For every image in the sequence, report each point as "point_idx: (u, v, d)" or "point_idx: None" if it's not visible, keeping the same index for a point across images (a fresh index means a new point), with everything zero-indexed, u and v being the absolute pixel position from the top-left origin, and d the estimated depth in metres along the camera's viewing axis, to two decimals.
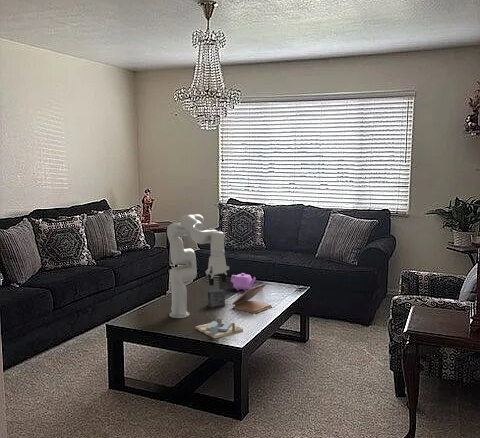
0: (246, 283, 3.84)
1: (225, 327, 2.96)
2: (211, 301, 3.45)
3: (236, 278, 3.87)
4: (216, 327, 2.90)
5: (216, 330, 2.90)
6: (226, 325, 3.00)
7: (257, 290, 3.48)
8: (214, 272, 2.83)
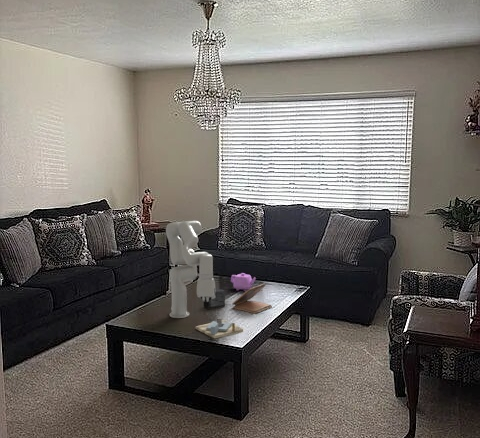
0: (246, 283, 3.84)
1: (225, 327, 2.96)
2: (211, 301, 3.45)
3: (236, 278, 3.87)
4: (216, 327, 2.90)
5: (216, 330, 2.90)
6: (226, 325, 3.00)
7: (257, 290, 3.48)
8: None
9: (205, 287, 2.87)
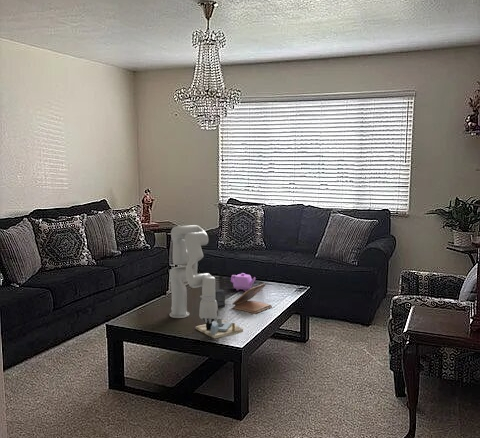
0: (246, 283, 3.84)
1: (225, 327, 2.96)
2: None
3: (236, 278, 3.87)
4: (216, 327, 2.90)
5: (216, 330, 2.90)
6: (226, 325, 3.00)
7: (257, 290, 3.48)
8: None
9: (208, 309, 2.88)
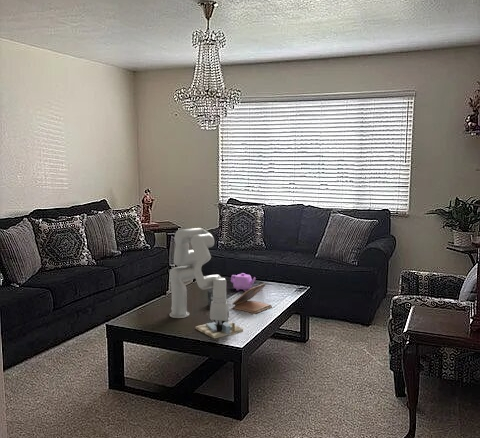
0: (246, 283, 3.84)
1: (228, 325, 2.99)
2: (211, 301, 3.45)
3: (236, 278, 3.87)
4: None
5: None
6: None
7: (257, 290, 3.48)
8: None
9: (218, 311, 2.86)
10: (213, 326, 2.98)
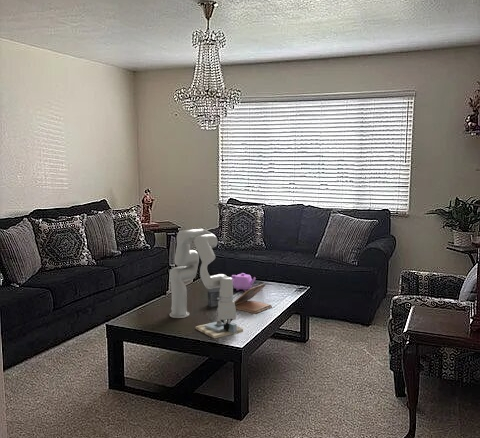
0: (246, 283, 3.84)
1: None
2: (211, 301, 3.45)
3: (236, 278, 3.87)
4: None
5: None
6: (223, 323, 3.03)
7: (257, 290, 3.48)
8: None
9: (228, 310, 2.87)
10: (215, 327, 2.97)
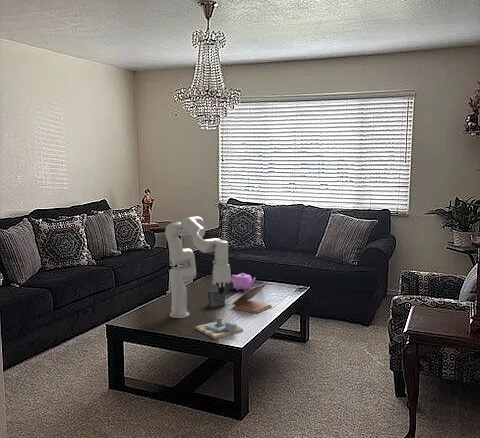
0: (246, 283, 3.84)
1: None
2: (211, 301, 3.45)
3: (236, 278, 3.87)
4: None
5: None
6: (223, 323, 3.03)
7: (257, 290, 3.48)
8: None
9: (224, 273, 2.90)
10: (215, 327, 2.97)
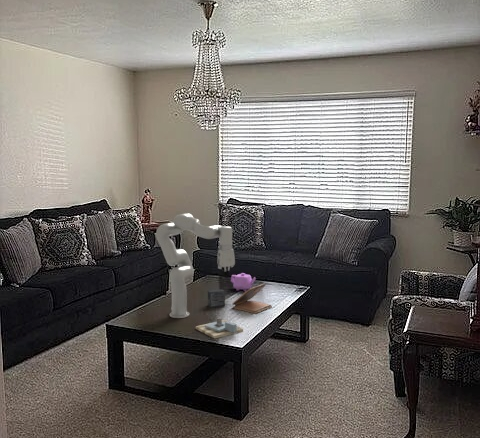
0: (246, 283, 3.84)
1: None
2: (211, 301, 3.45)
3: (236, 278, 3.87)
4: None
5: None
6: (223, 323, 3.03)
7: (257, 290, 3.48)
8: None
9: (229, 257, 3.04)
10: (215, 327, 2.97)
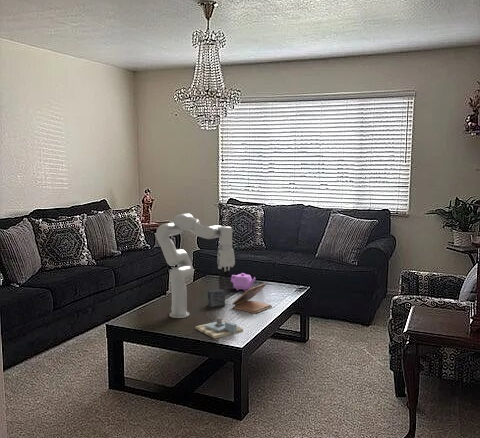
0: (246, 283, 3.84)
1: None
2: (211, 301, 3.45)
3: (236, 278, 3.87)
4: None
5: None
6: (223, 323, 3.03)
7: (257, 290, 3.48)
8: None
9: (229, 257, 3.04)
10: (215, 327, 2.97)
